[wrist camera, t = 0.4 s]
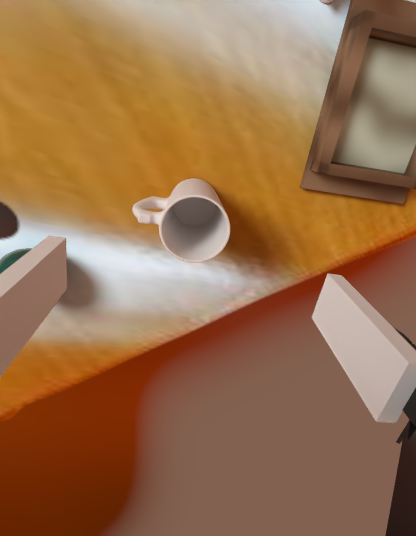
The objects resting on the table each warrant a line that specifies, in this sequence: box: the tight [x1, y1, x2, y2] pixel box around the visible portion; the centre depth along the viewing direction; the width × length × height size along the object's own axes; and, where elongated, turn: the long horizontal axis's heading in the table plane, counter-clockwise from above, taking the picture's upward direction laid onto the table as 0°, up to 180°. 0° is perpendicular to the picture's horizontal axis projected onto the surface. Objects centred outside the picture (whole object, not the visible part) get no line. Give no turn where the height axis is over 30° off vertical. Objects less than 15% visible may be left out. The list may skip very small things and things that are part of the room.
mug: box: [133, 178, 230, 262], centre depth 35 cm, size 10×7×12 cm, turn 80°
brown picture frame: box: [300, 0, 416, 204], centre depth 35 cm, size 20×14×4 cm
